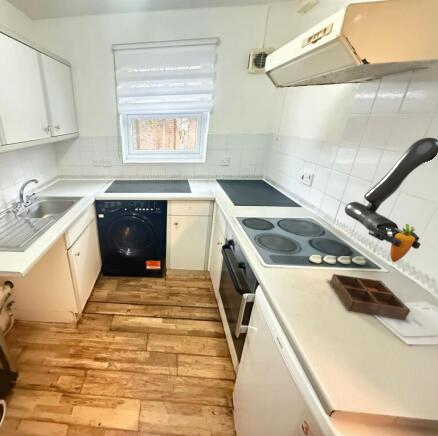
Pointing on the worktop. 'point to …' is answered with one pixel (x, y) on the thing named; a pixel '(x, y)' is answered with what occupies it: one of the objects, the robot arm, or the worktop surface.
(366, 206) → the robot arm
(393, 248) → the carrot
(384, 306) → the grid
